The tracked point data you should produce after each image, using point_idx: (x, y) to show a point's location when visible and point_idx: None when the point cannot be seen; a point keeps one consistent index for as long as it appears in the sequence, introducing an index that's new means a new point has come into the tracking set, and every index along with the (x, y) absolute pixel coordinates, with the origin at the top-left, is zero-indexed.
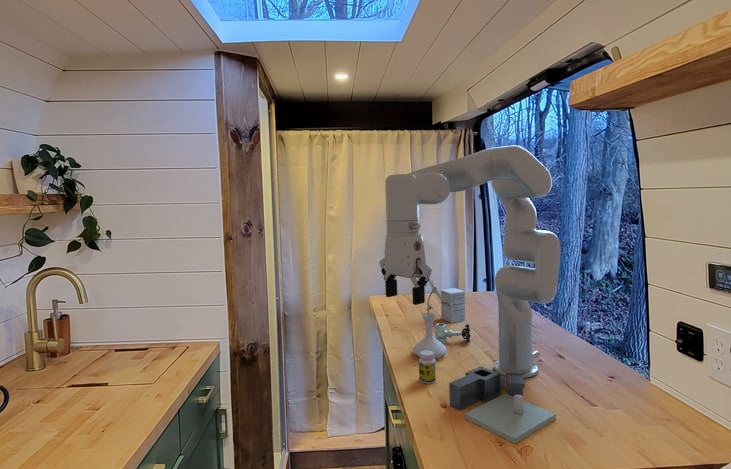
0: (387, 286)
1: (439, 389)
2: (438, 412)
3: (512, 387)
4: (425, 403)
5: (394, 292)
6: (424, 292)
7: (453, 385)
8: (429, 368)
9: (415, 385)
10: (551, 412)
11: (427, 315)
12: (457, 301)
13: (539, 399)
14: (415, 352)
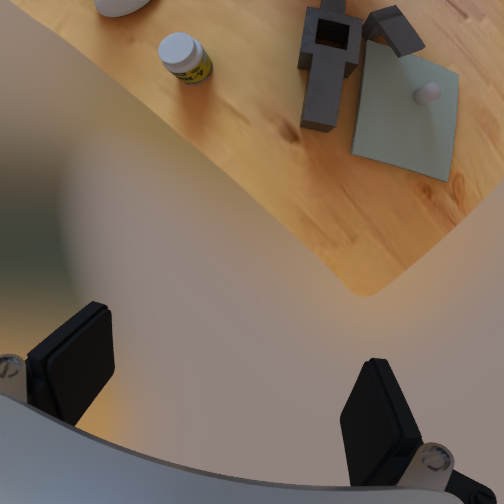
0: (82, 412)
1: (241, 83)
2: (298, 165)
3: (404, 55)
4: (255, 151)
5: (102, 339)
6: (404, 400)
7: (316, 122)
8: (200, 67)
9: (189, 102)
10: (452, 72)
11: None
12: None
13: None
14: (110, 15)
